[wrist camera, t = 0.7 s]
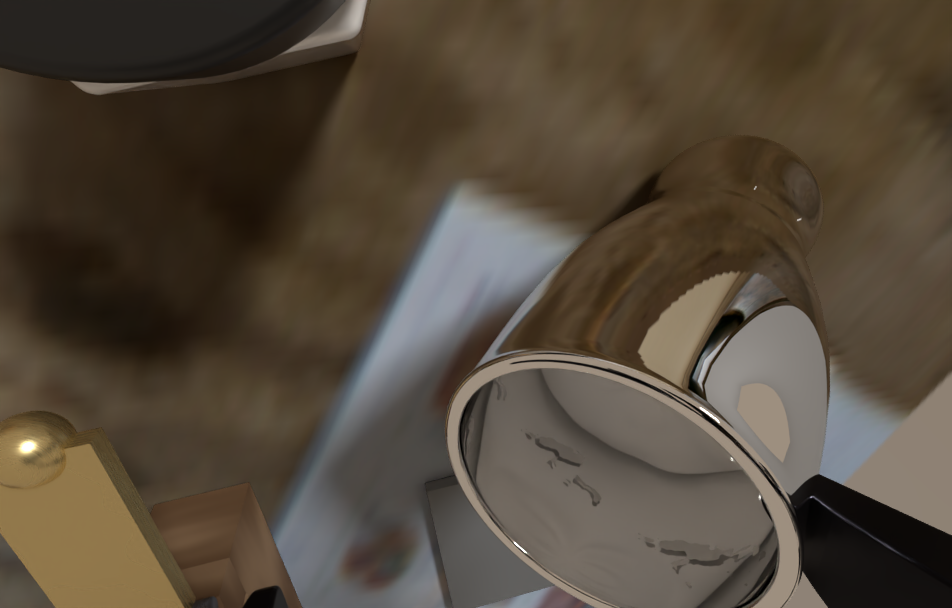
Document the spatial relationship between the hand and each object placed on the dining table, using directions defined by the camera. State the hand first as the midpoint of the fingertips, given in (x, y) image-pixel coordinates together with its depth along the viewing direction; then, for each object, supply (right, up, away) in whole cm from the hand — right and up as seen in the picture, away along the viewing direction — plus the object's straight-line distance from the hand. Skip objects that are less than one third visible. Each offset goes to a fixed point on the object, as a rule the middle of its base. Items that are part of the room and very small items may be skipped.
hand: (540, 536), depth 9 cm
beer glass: (+9, +8, +11) cm, 16 cm away
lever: (-13, -2, +7) cm, 15 cm away
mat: (+1, -8, +18) cm, 20 cm away
